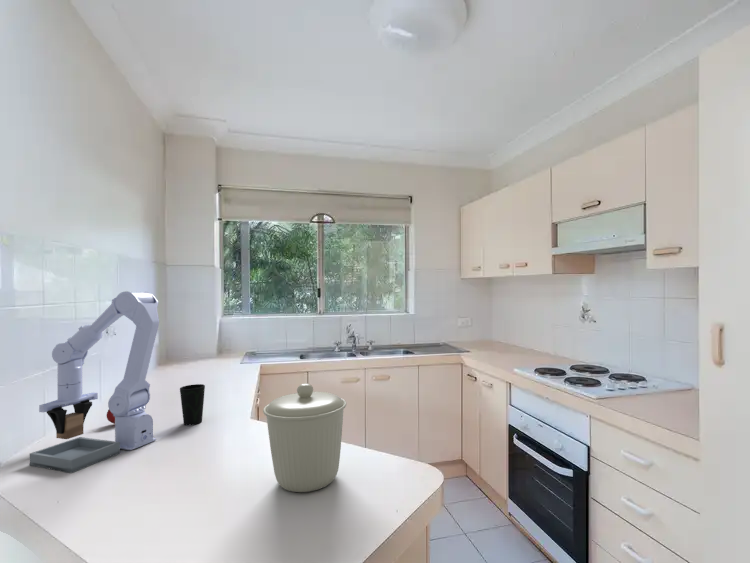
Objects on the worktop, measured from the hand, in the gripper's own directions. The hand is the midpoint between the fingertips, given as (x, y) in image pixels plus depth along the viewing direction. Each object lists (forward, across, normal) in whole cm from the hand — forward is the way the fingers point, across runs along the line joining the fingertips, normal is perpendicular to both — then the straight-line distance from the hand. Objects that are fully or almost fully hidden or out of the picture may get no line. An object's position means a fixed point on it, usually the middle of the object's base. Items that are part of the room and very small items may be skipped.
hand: (70, 430), depth 111 cm
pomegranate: (+4, -17, -4) cm, 18 cm away
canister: (+5, +1, +80) cm, 80 cm away
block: (+2, 0, 0) cm, 2 cm away
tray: (+4, +7, +14) cm, 16 cm away
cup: (+4, -25, +21) cm, 33 cm away
